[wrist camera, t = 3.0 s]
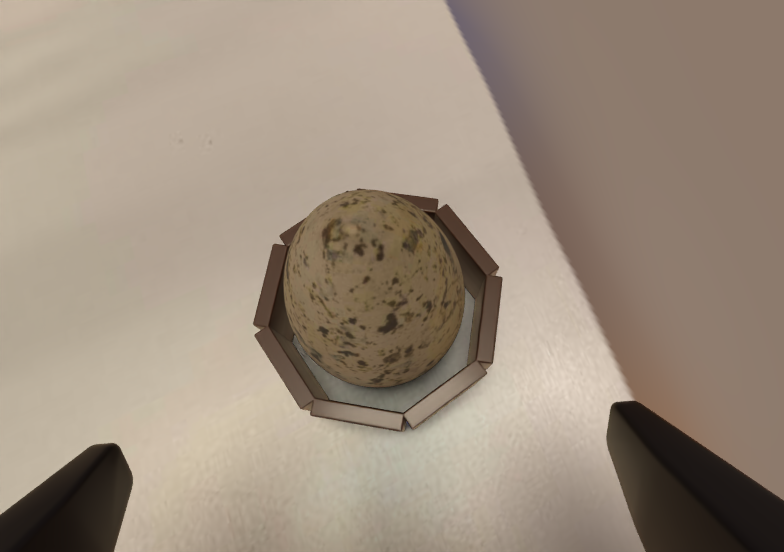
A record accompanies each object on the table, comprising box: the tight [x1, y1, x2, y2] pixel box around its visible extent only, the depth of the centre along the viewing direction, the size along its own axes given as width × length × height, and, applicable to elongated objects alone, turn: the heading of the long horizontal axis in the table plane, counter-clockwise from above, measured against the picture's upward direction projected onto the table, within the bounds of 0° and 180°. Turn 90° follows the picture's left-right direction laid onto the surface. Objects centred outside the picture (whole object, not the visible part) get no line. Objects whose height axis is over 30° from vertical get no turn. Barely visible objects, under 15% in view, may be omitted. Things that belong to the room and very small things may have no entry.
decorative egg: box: [284, 190, 465, 387], centre depth 17 cm, size 6×6×10 cm
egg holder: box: [253, 189, 502, 432], centre depth 20 cm, size 8×8×4 cm
